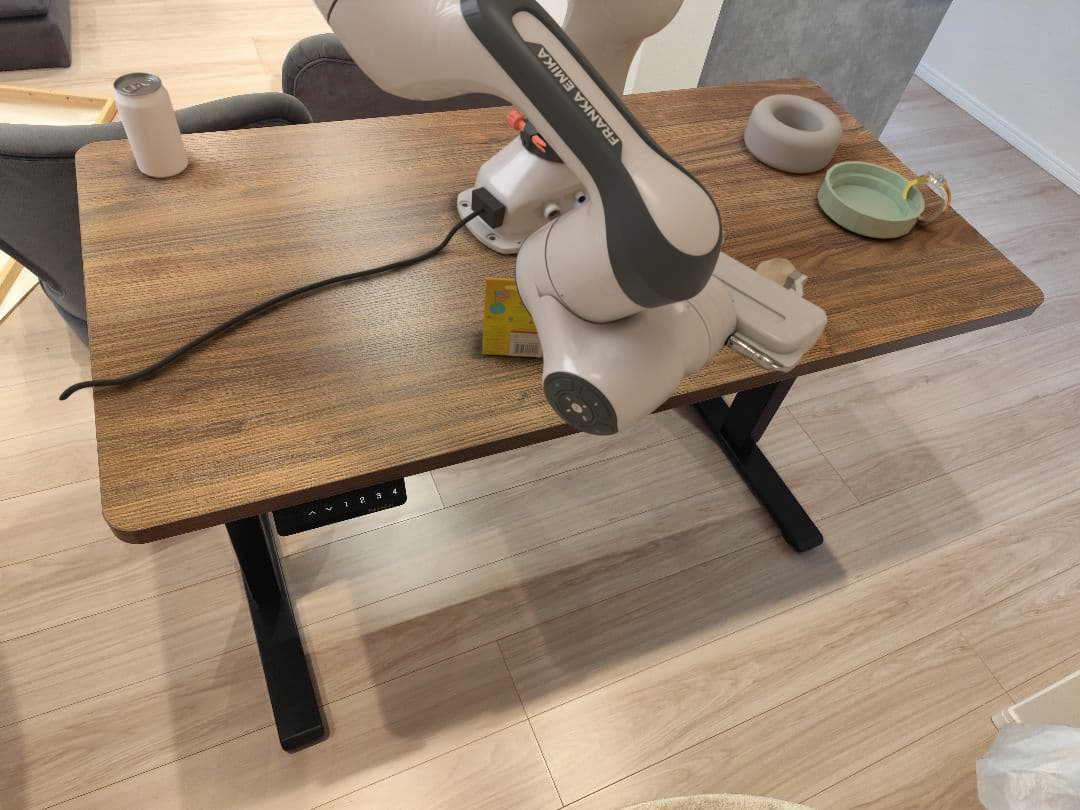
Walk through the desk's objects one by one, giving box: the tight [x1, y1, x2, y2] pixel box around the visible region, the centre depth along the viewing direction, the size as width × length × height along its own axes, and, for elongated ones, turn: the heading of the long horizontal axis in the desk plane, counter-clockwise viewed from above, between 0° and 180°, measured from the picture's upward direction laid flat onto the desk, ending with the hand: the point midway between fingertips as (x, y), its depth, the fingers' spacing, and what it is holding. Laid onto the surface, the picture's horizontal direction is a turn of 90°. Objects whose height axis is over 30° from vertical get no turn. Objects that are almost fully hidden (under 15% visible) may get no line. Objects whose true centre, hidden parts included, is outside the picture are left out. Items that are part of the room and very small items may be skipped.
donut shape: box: [743, 93, 844, 174], centre depth 121 cm, size 15×15×7 cm
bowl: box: [816, 160, 926, 239], centre depth 114 cm, size 15×15×4 cm
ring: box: [903, 170, 952, 224], centre depth 112 cm, size 7×3×8 cm, turn 29°
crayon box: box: [481, 276, 543, 359], centre depth 84 cm, size 7×3×12 cm, turn 91°
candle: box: [755, 257, 798, 287], centre depth 92 cm, size 6×6×10 cm
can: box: [112, 71, 189, 179], centre depth 98 cm, size 6×6×12 cm
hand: (758, 255), depth 75 cm, fingers open, 8 cm apart
